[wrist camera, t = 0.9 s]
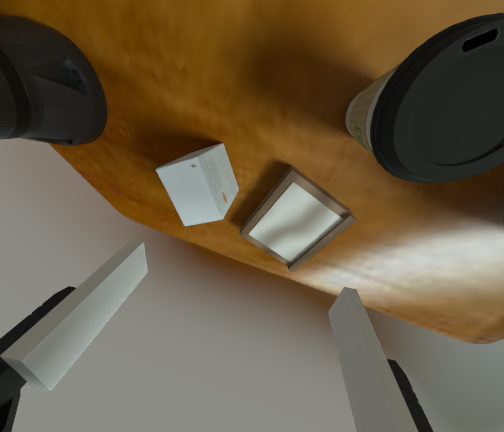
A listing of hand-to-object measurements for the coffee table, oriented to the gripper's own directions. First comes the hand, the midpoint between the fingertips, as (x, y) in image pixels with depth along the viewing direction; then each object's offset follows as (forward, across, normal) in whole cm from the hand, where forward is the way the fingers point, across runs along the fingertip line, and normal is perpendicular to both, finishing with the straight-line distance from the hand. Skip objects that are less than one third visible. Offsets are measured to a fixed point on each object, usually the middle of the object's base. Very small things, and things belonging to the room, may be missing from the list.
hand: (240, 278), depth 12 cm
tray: (+21, +6, -6) cm, 22 cm away
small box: (+21, -8, 0) cm, 23 cm away
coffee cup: (+21, +12, +12) cm, 27 cm away
